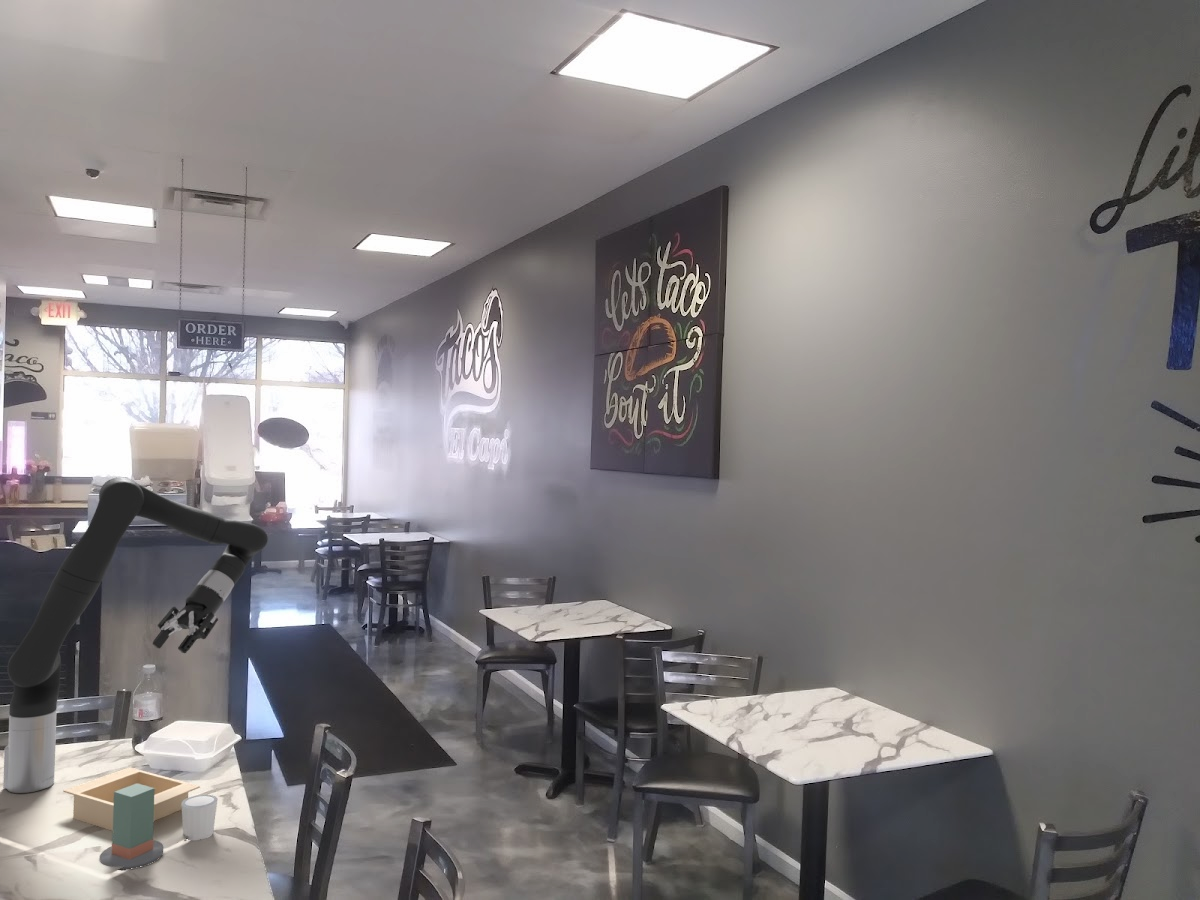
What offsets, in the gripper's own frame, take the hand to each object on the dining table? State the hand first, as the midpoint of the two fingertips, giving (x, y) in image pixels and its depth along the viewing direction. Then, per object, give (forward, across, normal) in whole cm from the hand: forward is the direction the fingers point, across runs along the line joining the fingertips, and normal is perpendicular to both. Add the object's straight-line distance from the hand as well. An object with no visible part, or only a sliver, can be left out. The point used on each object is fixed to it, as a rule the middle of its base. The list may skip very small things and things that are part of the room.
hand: (168, 648), depth 204 cm
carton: (+33, +7, +14) cm, 36 cm away
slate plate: (+41, +23, +5) cm, 48 cm away
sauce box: (+40, +23, +4) cm, 47 cm away
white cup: (+32, +26, +14) cm, 44 cm away
